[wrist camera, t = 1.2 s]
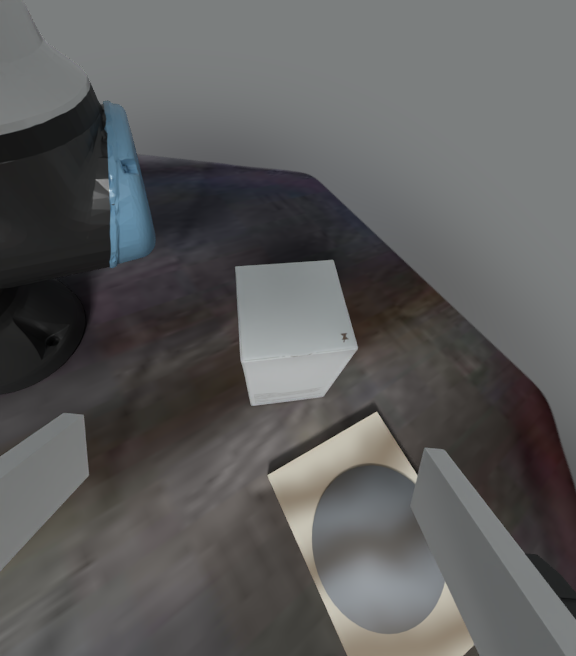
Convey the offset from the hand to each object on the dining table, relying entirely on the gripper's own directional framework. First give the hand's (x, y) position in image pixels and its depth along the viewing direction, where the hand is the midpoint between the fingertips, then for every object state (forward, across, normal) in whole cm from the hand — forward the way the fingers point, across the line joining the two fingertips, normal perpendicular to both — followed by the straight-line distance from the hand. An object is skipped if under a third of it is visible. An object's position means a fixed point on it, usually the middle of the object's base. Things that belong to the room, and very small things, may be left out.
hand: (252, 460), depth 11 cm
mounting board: (+13, +12, -18) cm, 26 cm away
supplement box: (+24, +1, -6) cm, 25 cm away
